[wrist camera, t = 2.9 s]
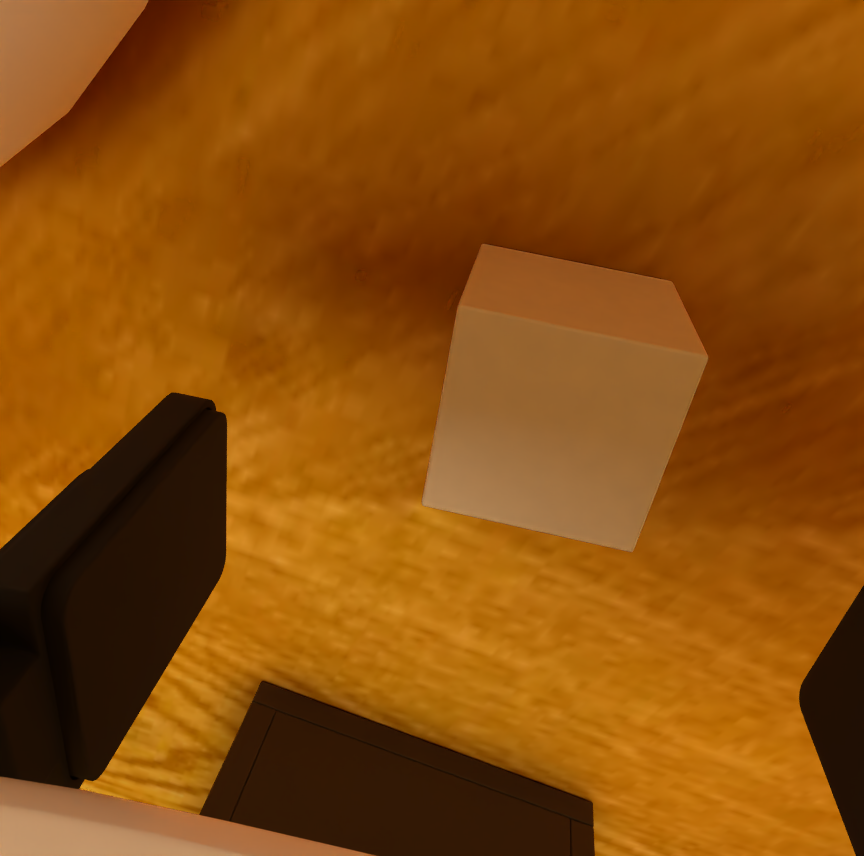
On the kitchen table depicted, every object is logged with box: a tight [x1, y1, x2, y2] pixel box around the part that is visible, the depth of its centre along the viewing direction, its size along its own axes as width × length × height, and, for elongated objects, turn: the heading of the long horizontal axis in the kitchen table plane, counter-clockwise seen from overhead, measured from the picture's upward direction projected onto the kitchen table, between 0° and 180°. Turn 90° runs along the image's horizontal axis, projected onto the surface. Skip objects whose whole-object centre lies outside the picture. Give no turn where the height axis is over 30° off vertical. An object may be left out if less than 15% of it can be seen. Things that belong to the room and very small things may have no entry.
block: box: [422, 244, 708, 552], centre depth 15 cm, size 4×4×4 cm
